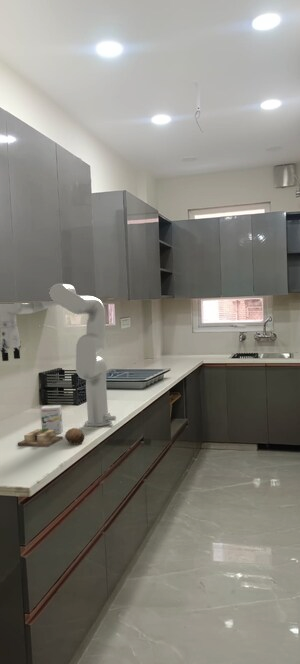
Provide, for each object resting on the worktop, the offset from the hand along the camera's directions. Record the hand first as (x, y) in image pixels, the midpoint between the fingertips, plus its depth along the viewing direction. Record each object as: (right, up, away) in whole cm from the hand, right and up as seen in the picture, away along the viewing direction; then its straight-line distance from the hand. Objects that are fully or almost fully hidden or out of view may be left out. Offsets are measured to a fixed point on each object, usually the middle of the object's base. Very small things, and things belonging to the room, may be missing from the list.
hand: (11, 359), depth 250 cm
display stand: (+23, -32, -41) cm, 57 cm away
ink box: (+25, -31, -26) cm, 48 cm away
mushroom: (+38, -31, -46) cm, 68 cm away
